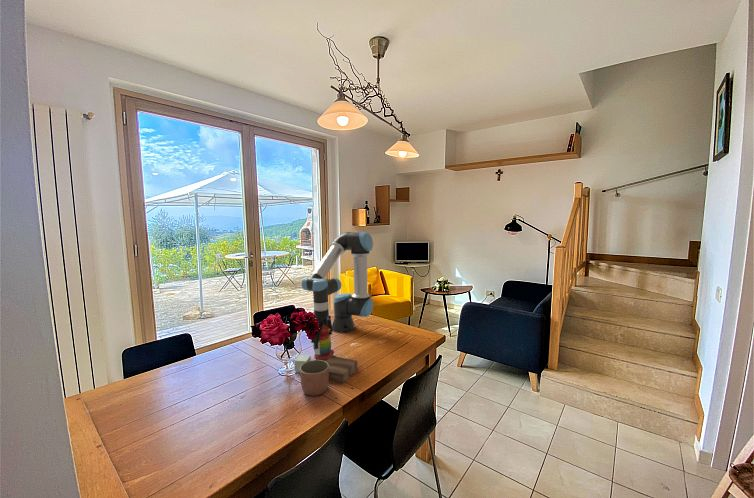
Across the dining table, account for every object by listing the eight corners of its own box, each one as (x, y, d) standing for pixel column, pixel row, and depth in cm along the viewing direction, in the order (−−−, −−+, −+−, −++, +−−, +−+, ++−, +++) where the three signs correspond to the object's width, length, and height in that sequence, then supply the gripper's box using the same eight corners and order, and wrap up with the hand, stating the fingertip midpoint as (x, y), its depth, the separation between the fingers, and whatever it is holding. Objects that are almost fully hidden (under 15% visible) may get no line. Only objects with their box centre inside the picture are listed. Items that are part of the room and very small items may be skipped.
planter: (319, 379, 141) (318, 357, 140) (335, 390, 132) (334, 366, 131) (295, 390, 133) (294, 366, 131) (311, 402, 124) (309, 377, 123)
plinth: (332, 365, 155) (332, 355, 155) (357, 370, 150) (356, 360, 149) (316, 378, 142) (316, 368, 142) (343, 385, 137) (342, 374, 136)
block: (299, 366, 154) (299, 354, 153) (311, 367, 153) (310, 355, 152) (294, 372, 148) (294, 360, 147) (306, 373, 147) (306, 361, 147)
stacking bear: (331, 361, 156) (329, 328, 154) (311, 361, 156) (310, 328, 154) (334, 351, 167) (333, 320, 164) (316, 351, 167) (314, 320, 165)
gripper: (326, 302, 170) (328, 340, 172) (302, 315, 150) (304, 358, 153) (338, 303, 167) (340, 342, 169) (314, 316, 147) (316, 360, 150)
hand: (323, 350), depth 161 cm, fingers closed on stacking bear, 9 cm apart
